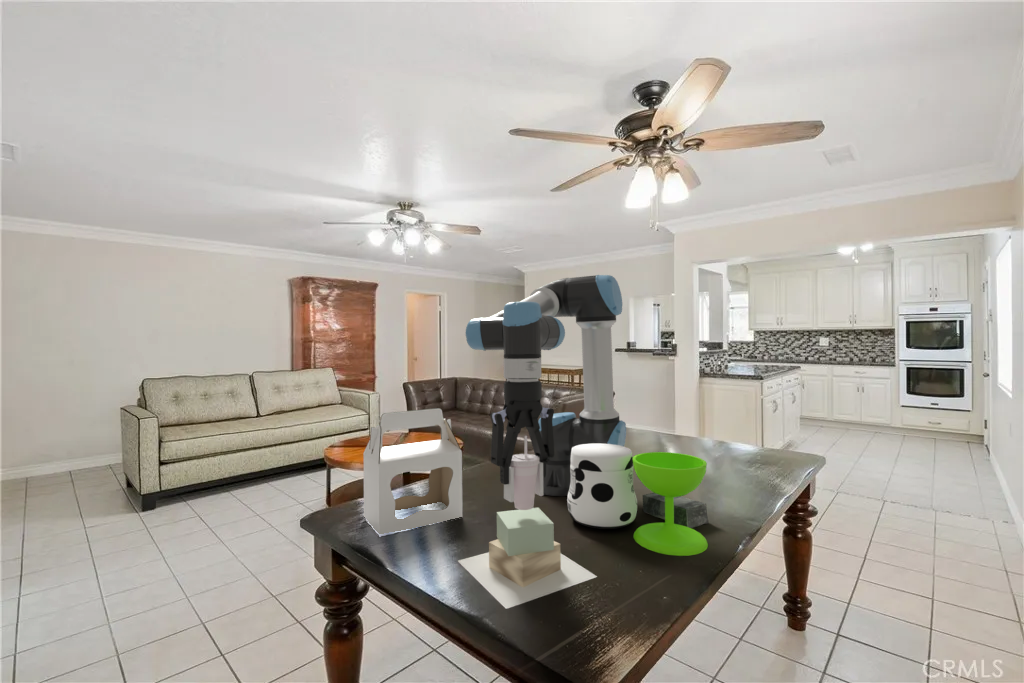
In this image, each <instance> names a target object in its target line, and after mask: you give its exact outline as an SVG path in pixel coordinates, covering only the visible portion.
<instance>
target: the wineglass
mask: <svg viewBox="0 0 1024 683" xmlns="http://www.w3.org/2000/svg"><path fill="white" fill-rule="evenodd" d="M707 463H708V462H707V461H706V460H705V459H703V458H700V457H698V456H695V455H691V454H685V453H678V452H670V451H669V452H666V451H652V452H650V451H649V452H643V453H638V454H635V455H634V456H633V471H635V474H636V477H637V478H638V479H639V481H640V482H641V483H642V485H643V486H644V487H646V489H648V490H649V491H650V492H651V493H656V494H659V495H662V496H665V519H664V522H651V523H646V524H642V525H640V526H639V527H638V528H636V529H635V531H634V533H633V539H634V541H635V543H637V544H638V545H639V546H641V547H642V548H645V549H647V550H649V551H652V552H655V553H656V554H657V553H658V554H662V555H668V556H677V557H683V556H684V557H685V556H688V557H689V556H694V555H699V554H702V553H703V552H705V551H706V550H707V549H708V546H709V544H708V540H707V539H706V537H705V536H704V535H703V534H702V533H701V532H699V531H697V530H695V529H694V528H689V527H686V526H682V525H678V524H674V497H679V496H681V497H684V496H686V495H688V494H690V493H691V492H693V491H695V490H696V489H697V488H698V487H699V486H700V485H701V483H702V482H703V479H704V477H705V475H706V472H707Z"/></svg>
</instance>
